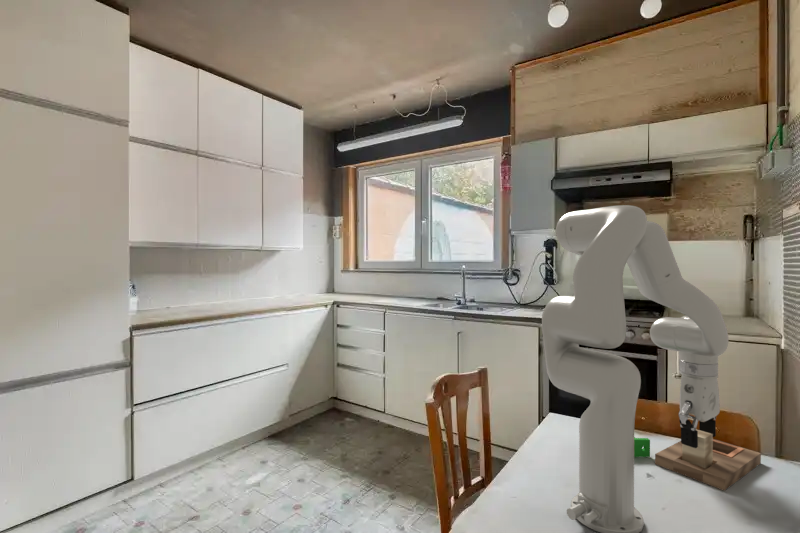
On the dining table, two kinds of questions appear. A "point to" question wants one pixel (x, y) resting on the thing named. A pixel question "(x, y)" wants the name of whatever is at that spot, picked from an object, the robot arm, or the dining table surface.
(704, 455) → the maple peg
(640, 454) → the pipe clamp
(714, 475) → the socket plate
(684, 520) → the dining table surface
